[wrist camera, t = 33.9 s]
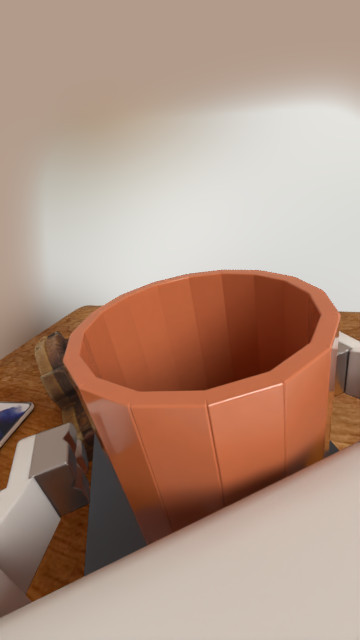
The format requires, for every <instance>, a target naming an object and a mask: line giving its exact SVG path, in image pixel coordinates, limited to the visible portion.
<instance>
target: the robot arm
mask: <svg viewBox="0 0 360 640" xmlns="http://www.w3.org/2000/svg"><path fill="white" fill-rule="evenodd" d="M342 393H345V394H347V395H350V396H353V397H356V398H359V399H360V341H358V340H356V339H354V338H352V337H350V336H348V335H346V334H344V333H342V332H340V331H339V341H338V353H337V364H336V375H335V386H334V397H335V396H337V395H340V394H342ZM87 472H88V459H87V454H86V451H85V448H84V445H83V443H82V441H81V440H79V439H77V433H76V429H75V427H74V425H73V423H71V422H69V423H66V424H63V425H60V426H57V427H54V428H51V429H49V430H46V431H43V432H40V433H38V434H35V435H32V436H29V437H26V438H23V439H21V440H20V441H19V442H18V443H17V447H16V451H15V455H14V459H13V463H12V467H11V471H10V475H9V480H8V484H7V488H5V489H3V490H1V491H0V640H360V441H358V442H356V443H354V444H352V445H350V446H348V447H346V448H344V449H342V450H340V451H338V452H336V453H334V454H332V455H330V456H328V457H326V458H324V459H322V460H320V461H318V462H316V463H314V464H312V465H310V466H308V467H306V468H304V469H302V470H300V471H298V472H296V473H294V474H292V475H290V476H288V477H285V478H283V479H281V480H279V481H277V482H275V483H273V484H271V485H269V486H267V487H265V488H263V489H261V490H259V491H257V492H255V493H253V494H251V495H249V496H247V497H245V498H243V499H241V500H239V501H237V502H235V503H233V504H231V505H229V506H227V507H225V508H223V509H220V510H218V511H216V512H214V513H212V514H210V515H208V516H206V517H204V518H202V519H200V520H198V521H196V522H194V523H192V524H190V525H188V526H186V527H184V528H182V529H180V530H178V531H176V532H174V533H172V534H170V535H167V536H165V537H163V538H161V539H159V540H157V541H155V542H153V543H151V544H149V545H147V546H145V547H143V548H141V549H139V550H137V551H135V552H133V553H131V554H129V555H127V556H125V557H123V558H121V559H119V560H117V561H115V562H113V563H111V564H109V565H107V566H104V567H102V568H100V569H98V570H96V571H94V572H92V573H90V574H88V575H86V576H84V577H82V578H80V579H78V580H76V581H74V582H72V583H70V584H68V585H66V586H64V587H62V588H60V589H58V590H56V591H54V592H52V593H50V594H48V595H46V596H44V597H42V598H40V599H38V600H35V601H33V602H32V601H31V600H30V599H29V598H28V597H27V596H26V592H27V590H28V588H29V586H30V584H31V582H32V580H33V577H34V575H35V573H36V571H37V569H38V567H39V565H40V563H41V560H42V558H43V556H44V554H45V552H46V550H47V548H48V545H49V543H50V541H51V539H52V537H53V535H54V533H55V530H56V528H57V526H58V524H59V522H60V520H61V518H60V517H62V516H64V515H66V514H68V513H71V512H73V511H75V510H77V509H79V508H81V507H83V506H85V505H88V504H90V492H89V482H88V480H87V478H86V476H85V475H86V474H87Z"/></svg>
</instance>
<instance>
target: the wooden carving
mask: <svg viewBox="0 0 360 640" xmlns="http://www.w3.org/2000/svg"><path fill="white" fill-rule="evenodd" d="M39 341H40V342H39V343H37V345H36V347H35V357H36V361H37V364H38V367H39V370H40V373H41V376H40V378H41V381H42V383H43V385H44V387H45V389H46V391H47V393H48V395H49V396H50V398H51V399H52V400H53V401H54V402H56V403H57V405H58V406H59V407H60V409H61V410H62V411H61V413H62V421H63V424H66V423H69V422H71V423H73V425H74V427H75V429H76V433H77V439H79V440H81V441H82V443H83V445H84V448H85V451H86V454H87V459H88V461H90V460H92V459H93V449H94V435H95V432H94V430H93V428H92V425H91V423H90V421H89V419H88V416H87V414H86V412H85V410H84V408H83V405H82V403H81V401H80V399H79V397H78V394H77V392H76V390H75V388H74V385H73V383H72V381H71V379H70V377H69V374H68V372H67V370H66V368H65V365H64V363H63V358H64V355H65V351H66V348H67V345H68V341H69V339H65V338H64V337H63V336H62V335H61V333H60V332H58V331H57V332H55V333H53V334H51V335H50V336H44V337H42V338H40V340H39Z"/></svg>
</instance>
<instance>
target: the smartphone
mask: <svg viewBox="0 0 360 640" xmlns="http://www.w3.org/2000/svg"><path fill="white" fill-rule="evenodd" d="M33 408H34V404H33V403H30V402H0V448H1V447H2V445H3V444H4V443H5V442H6V441H7V439H8V438H9V437H10V436H11V435H12V434H13V432H14V431H15V430H16V429H17V428H18V426H19V425H20V424H21V423H22V422H23V421H24V419H25V418H26V417H27V416H28V415H29V413H30V412H31V411H32V410H33Z"/></svg>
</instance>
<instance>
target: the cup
mask: <svg viewBox="0 0 360 640" xmlns="http://www.w3.org/2000/svg"><path fill="white" fill-rule="evenodd" d="M340 319H341V317H340V313H339V312H338V311H337V309H336V308H335V306H334V305H333V303H332V302H331V301H330V299H329V298H328V296H327V295H326V293H325V292H324V291H323V290H321V289H319V288H317V287H315V286H313V285H310V284H308V283H306V282H304V281H302V280H300V279H298V278H296V277H293V276H287V275H282V274H277V273H271V272H266V271H259V270H217V271H208V272H200V273H192V274H186V275H181V276H177V277H173V278H169V279H165V280H161V281H157V282H154V283H151V284H148V285H145V286H143V287H140V288H138V289H135V290H133V291H130V292H127V293H125V294H123V295H120V296H119V297H117V298H115V299H113V300H112V301H110V302H108V303H107V304H105V305H103V306H102V307H100V308H98V309H97V310H95V311H93V312H92V313H91V314H90V315H89V316H88V317H87V318H86V319H85V320H84V321H83V322H82V323H81V324H80V325H79V326H78V327H77V328H76V329H75V330H74V331H73V332H72V333H71V335H70V338H69V341H68V345H67V348H66V351H65V355H64V358H63V363H64V365H65V368H66V370H67V372H68V374H69V377H70V379H71V381H72V383H73V385H74V388H75V390H76V392H77V394H78V397H79V399H80V401H81V403H82V405H83V408H84V410H85V412H86V414H87V416H88V419H89V421H90V423H91V425H92V428H93V430H94V432H95V434H96V436H97V439H98V441H99V443H100V445H101V448H102V450H103V452H104V454H105V456H106V459H107V461H108V463H109V465H110V467H111V470H112V472H113V474H114V476H115V479H116V481H117V483H118V485H119V487H120V490H121V492H122V494H123V496H124V499H125V501H126V503H127V505H128V507H129V510H130V512H131V514H132V516H133V519H134V521H135V523H136V525H137V527H138V530H139V532H140V534H141V536H142V538H143V541H144V543H145V545H146V546H147V545H149V544H151V543H153V542H155V541H157V540H159V539H161V538H163V537H165V536H167V535H170V534H172V533H174V532H176V531H178V530H180V529H182V528H184V527H186V526H188V525H190V524H192V523H194V522H196V521H198V520H200V519H202V518H204V517H206V516H208V515H210V514H212V513H214V512H216V511H218V510H220V509H223V508H225V507H227V506H229V505H231V504H233V503H235V502H237V501H239V500H241V499H243V498H245V497H247V496H249V495H251V494H253V493H255V492H257V491H259V490H261V489H263V488H265V487H267V486H269V485H271V484H273V483H275V482H277V481H279V480H281V479H283V478H285V477H288V476H290V475H292V474H294V473H296V472H298V471H300V470H302V469H304V468H306V467H308V466H310V465H312V464H314V463H316V462H318V461H320V460H322V459H324V458H326V457H328V454H329V443H330V432H331V420H332V409H333V398H334V386H335V375H336V364H337V353H338V341H339V330H340Z"/></svg>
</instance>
